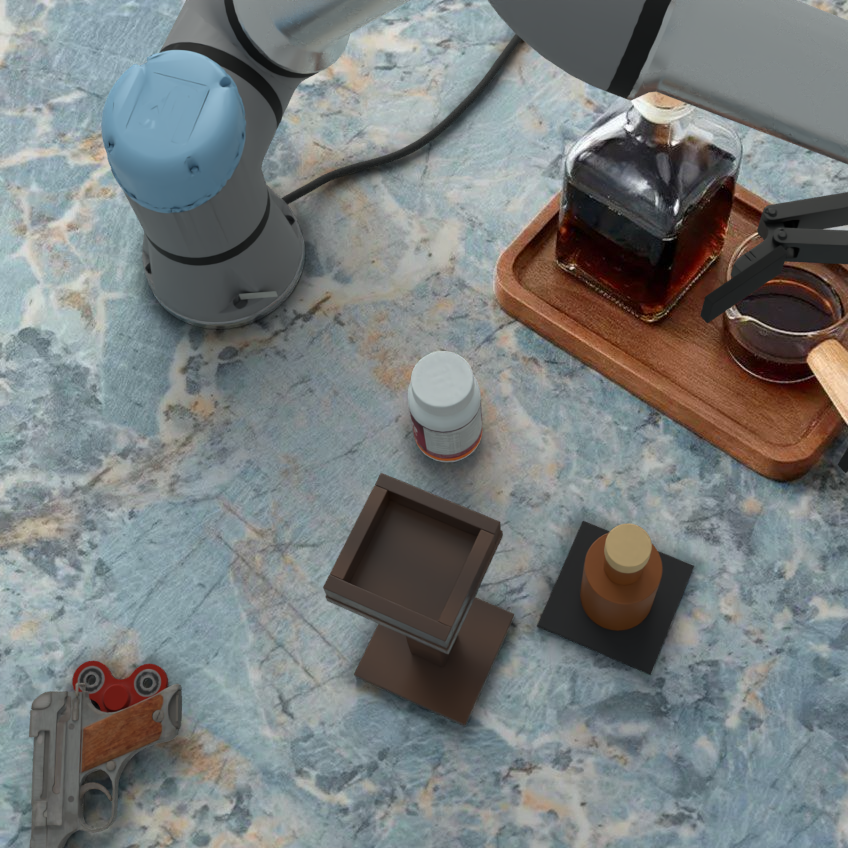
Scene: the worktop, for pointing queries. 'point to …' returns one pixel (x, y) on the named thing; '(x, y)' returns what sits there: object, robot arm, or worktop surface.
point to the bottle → (620, 578)
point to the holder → (422, 596)
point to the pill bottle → (445, 407)
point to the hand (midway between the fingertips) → (773, 383)
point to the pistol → (88, 754)
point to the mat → (624, 645)
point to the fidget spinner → (119, 685)
